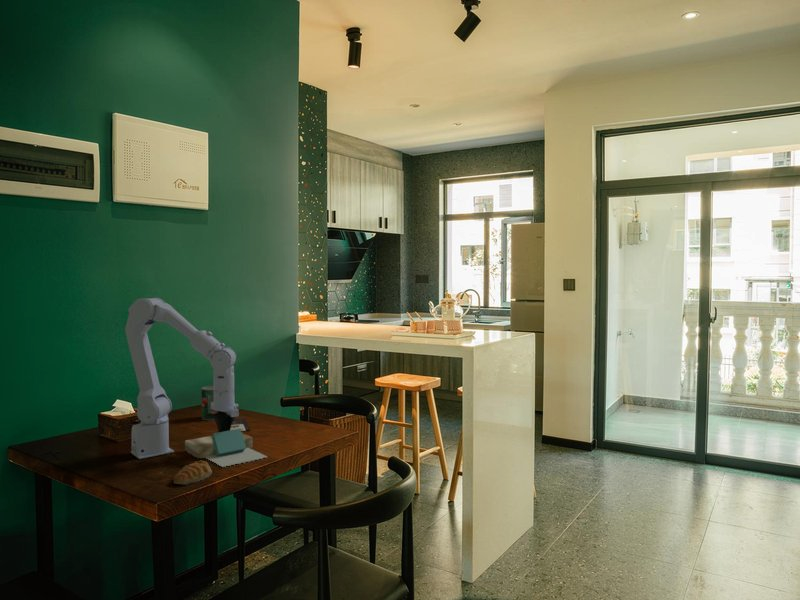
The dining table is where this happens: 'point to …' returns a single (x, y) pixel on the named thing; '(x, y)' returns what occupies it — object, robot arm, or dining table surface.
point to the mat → (236, 457)
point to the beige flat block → (208, 446)
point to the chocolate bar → (240, 424)
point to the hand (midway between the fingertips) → (224, 437)
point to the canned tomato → (207, 403)
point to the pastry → (193, 473)
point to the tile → (228, 442)
